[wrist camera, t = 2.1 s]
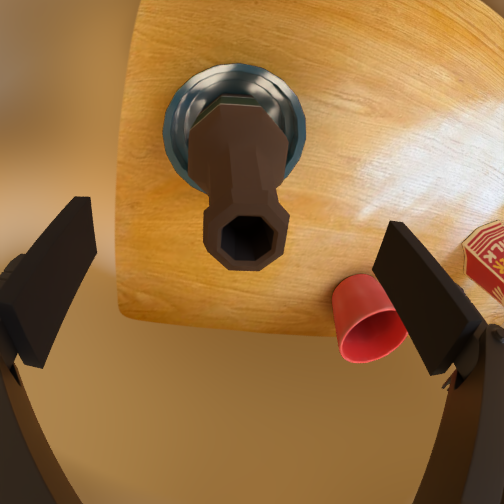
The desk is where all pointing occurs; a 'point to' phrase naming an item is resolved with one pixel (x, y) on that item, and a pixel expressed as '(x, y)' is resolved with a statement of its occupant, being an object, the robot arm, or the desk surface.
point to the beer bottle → (240, 181)
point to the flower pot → (365, 320)
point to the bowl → (232, 82)
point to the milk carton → (486, 259)
